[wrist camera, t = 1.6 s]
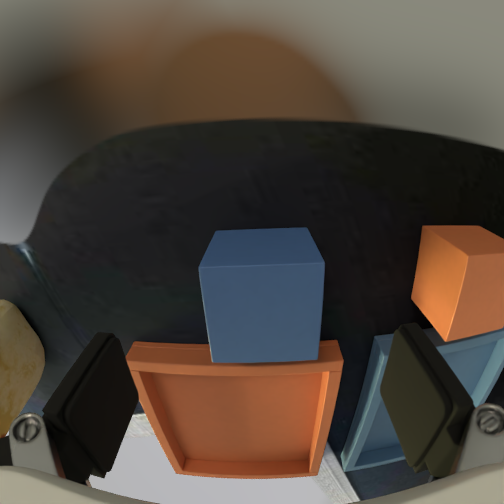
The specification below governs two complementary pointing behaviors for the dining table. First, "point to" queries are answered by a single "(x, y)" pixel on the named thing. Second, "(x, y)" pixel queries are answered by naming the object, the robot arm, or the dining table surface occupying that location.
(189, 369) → the terracotta tray
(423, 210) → the dining table surface
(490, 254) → the terracotta block
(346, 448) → the blue tray
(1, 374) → the food model
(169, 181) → the dining table surface
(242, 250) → the blue block
